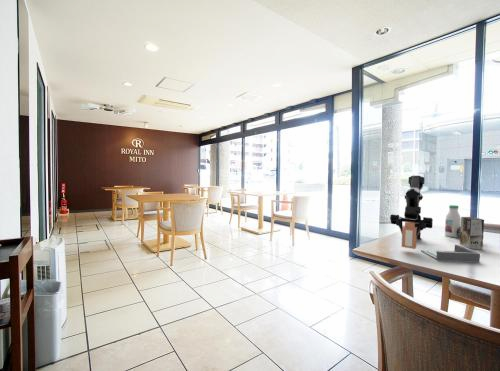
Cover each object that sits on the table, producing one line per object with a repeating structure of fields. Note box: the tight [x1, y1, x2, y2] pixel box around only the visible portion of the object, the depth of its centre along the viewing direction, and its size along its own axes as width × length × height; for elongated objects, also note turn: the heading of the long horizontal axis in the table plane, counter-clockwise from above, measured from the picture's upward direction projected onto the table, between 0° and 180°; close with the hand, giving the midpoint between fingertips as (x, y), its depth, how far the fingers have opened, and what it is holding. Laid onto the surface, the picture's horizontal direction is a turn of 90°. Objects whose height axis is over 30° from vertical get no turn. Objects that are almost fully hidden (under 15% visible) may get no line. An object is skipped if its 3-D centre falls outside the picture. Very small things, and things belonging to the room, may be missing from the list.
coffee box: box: [459, 216, 485, 250], centre depth 142 cm, size 9×6×16 cm
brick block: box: [401, 221, 418, 250], centre depth 131 cm, size 6×6×12 cm
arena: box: [421, 244, 481, 264], centre depth 125 cm, size 14×18×4 cm
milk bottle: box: [444, 204, 461, 238], centre depth 165 cm, size 8×8×20 cm
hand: (409, 234), depth 130 cm, fingers closed on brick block, 6 cm apart
